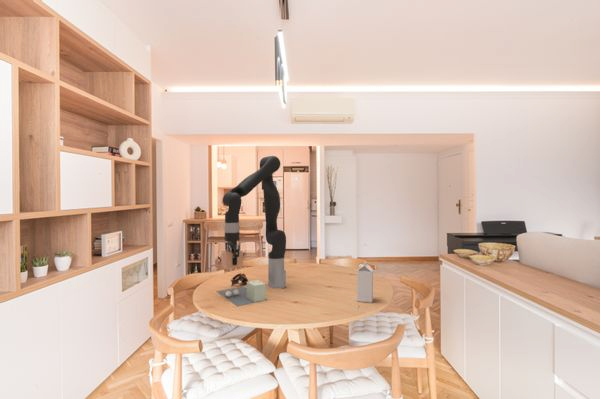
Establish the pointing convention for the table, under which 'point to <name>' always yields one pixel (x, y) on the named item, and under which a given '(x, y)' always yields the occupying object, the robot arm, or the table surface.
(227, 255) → the upright salmon pillar
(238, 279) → the brown sculpted ring
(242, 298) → the slate mat
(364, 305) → the table surface
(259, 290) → the pale green cuboid
